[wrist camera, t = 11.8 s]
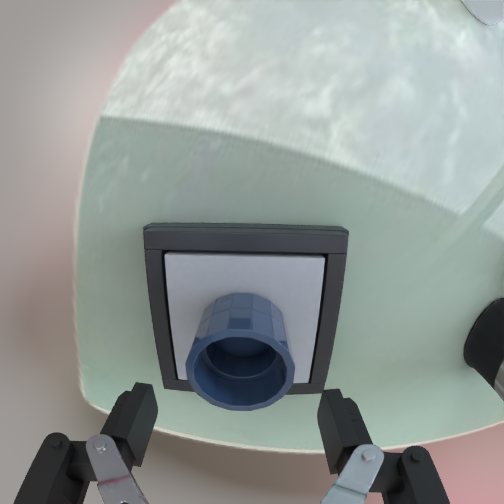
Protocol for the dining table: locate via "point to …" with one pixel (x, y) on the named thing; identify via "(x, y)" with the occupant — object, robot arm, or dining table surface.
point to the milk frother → (488, 346)
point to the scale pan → (245, 281)
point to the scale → (247, 240)
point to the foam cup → (486, 10)
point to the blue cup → (241, 353)
